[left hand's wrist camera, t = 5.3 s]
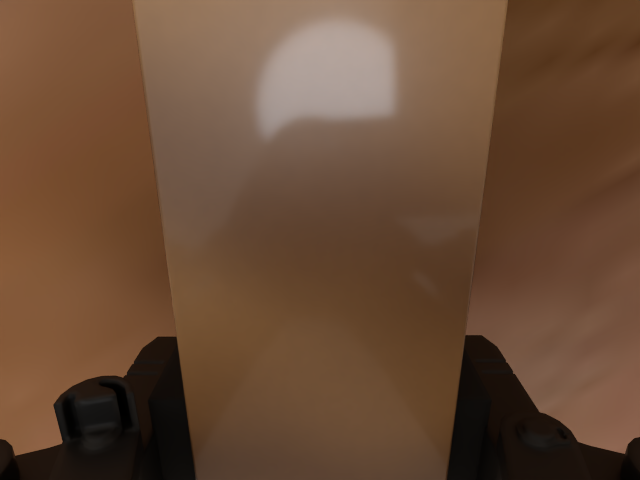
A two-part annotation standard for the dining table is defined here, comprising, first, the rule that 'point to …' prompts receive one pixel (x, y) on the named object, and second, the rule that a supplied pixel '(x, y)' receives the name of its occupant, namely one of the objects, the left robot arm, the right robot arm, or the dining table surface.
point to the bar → (320, 223)
